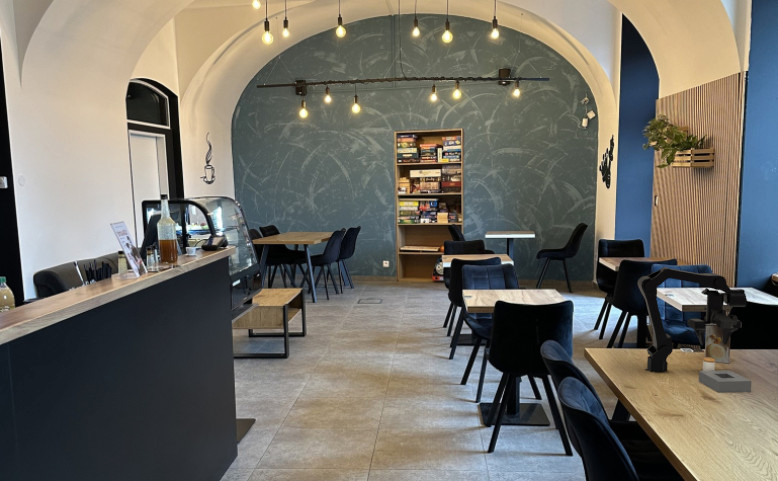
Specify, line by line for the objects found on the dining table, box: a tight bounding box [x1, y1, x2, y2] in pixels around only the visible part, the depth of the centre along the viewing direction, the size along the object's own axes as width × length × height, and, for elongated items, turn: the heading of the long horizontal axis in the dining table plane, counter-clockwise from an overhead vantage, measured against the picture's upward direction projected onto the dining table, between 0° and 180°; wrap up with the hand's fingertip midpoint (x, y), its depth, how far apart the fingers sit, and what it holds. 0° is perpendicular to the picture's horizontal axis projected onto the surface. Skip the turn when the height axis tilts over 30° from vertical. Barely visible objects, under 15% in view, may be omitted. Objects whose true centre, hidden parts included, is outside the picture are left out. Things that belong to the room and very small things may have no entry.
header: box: [698, 370, 752, 394], centre depth 207 cm, size 12×12×5 cm
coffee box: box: [704, 323, 731, 364], centre depth 241 cm, size 9×6×16 cm
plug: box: [702, 356, 716, 371], centre depth 218 cm, size 4×4×8 cm
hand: (713, 344), depth 221 cm, fingers open, 9 cm apart
